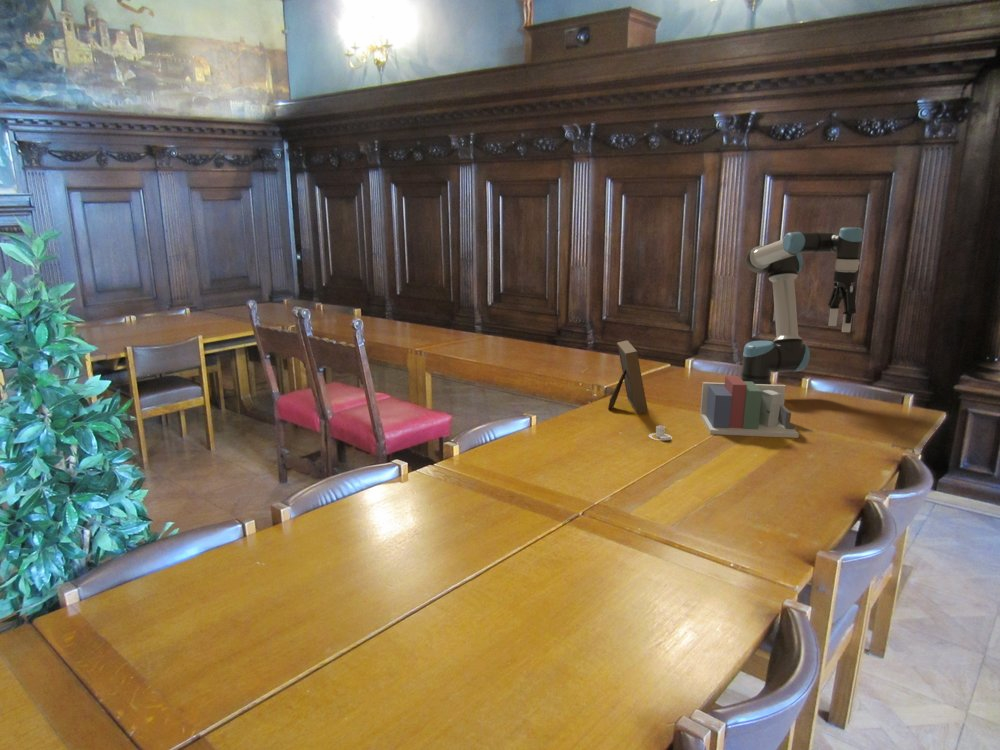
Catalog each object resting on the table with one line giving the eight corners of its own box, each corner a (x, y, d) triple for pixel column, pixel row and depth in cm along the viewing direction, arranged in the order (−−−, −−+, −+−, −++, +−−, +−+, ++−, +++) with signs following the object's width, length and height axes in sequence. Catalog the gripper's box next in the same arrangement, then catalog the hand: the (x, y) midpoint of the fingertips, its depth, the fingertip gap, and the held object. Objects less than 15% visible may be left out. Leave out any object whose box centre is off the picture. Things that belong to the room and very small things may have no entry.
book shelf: (700, 416, 258) (703, 372, 254) (780, 419, 255) (785, 374, 250) (710, 434, 237) (714, 386, 233) (798, 437, 234) (804, 389, 230)
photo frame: (637, 399, 281) (641, 340, 275) (647, 414, 260) (651, 351, 254) (602, 398, 282) (605, 340, 276) (609, 413, 261) (612, 350, 255)
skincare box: (757, 422, 246) (760, 390, 243) (767, 421, 247) (770, 389, 245) (768, 427, 240) (771, 394, 238) (778, 426, 242) (782, 393, 239)
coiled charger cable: (672, 443, 229) (673, 432, 228) (648, 441, 231) (649, 430, 230) (671, 435, 237) (672, 424, 236) (648, 433, 239) (649, 422, 238)
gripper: (871, 274, 230) (863, 335, 235) (844, 268, 254) (837, 323, 259) (848, 274, 231) (840, 334, 236) (823, 268, 255) (816, 323, 260)
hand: (838, 328), depth 248 cm, fingers open, 13 cm apart
